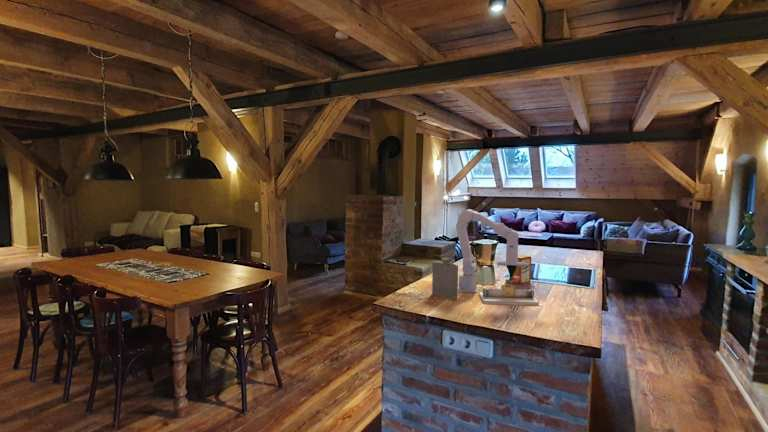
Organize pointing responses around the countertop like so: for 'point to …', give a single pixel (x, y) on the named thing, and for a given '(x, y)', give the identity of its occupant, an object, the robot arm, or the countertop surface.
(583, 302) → the countertop surface
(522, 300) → the mounting board
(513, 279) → the valve lever
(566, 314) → the countertop surface
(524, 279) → the baking soda box
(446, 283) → the hip flask
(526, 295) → the ball valve
